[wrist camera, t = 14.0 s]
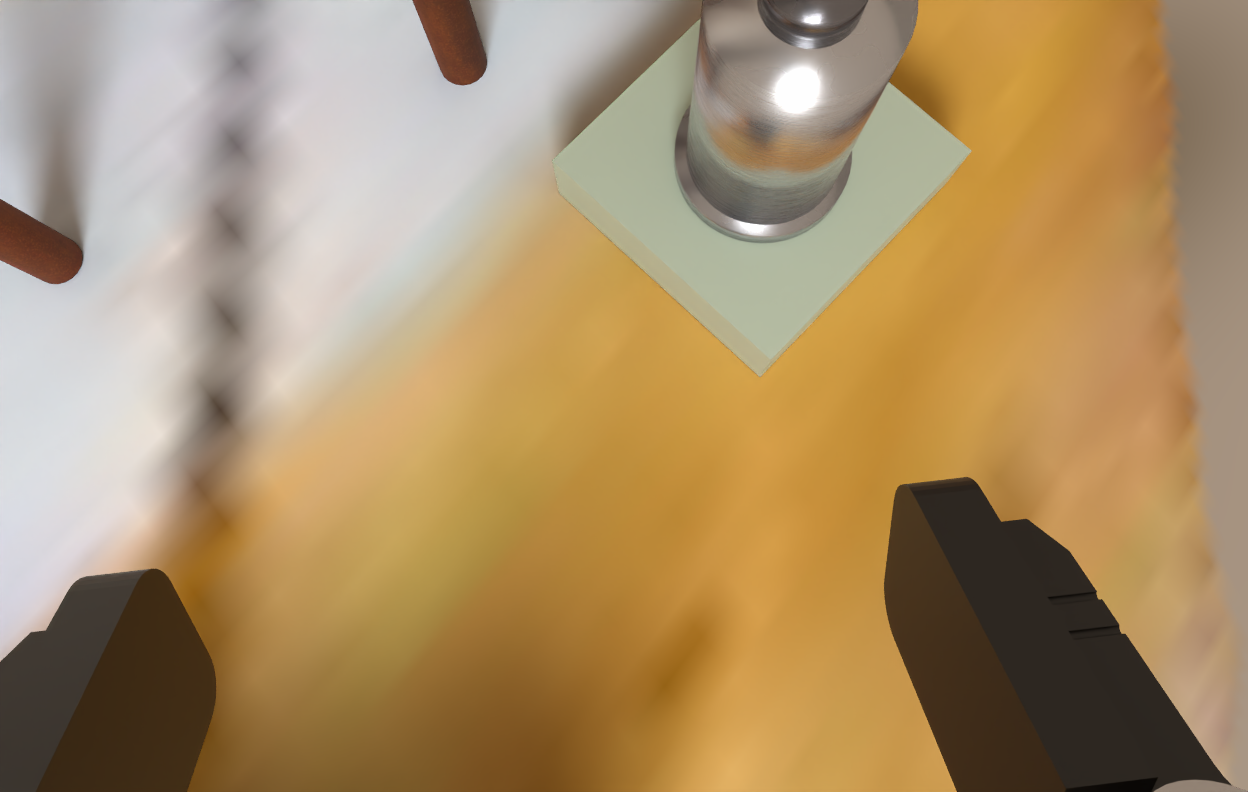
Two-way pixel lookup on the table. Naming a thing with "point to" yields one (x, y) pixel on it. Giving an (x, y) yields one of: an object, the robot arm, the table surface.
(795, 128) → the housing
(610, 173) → the green plinth
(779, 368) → the table surface
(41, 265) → the plant pot with stand
